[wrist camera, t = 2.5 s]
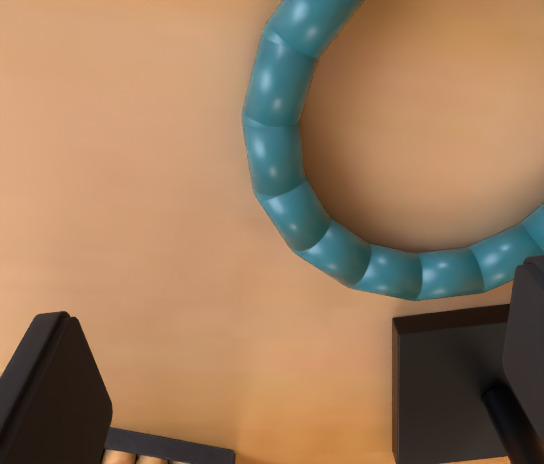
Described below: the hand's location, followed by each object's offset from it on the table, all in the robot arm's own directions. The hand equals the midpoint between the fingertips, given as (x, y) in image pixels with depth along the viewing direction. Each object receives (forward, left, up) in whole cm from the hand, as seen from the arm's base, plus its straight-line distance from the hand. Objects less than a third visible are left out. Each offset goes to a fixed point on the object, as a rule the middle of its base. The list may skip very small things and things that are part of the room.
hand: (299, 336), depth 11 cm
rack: (+14, +9, -10) cm, 20 cm away
